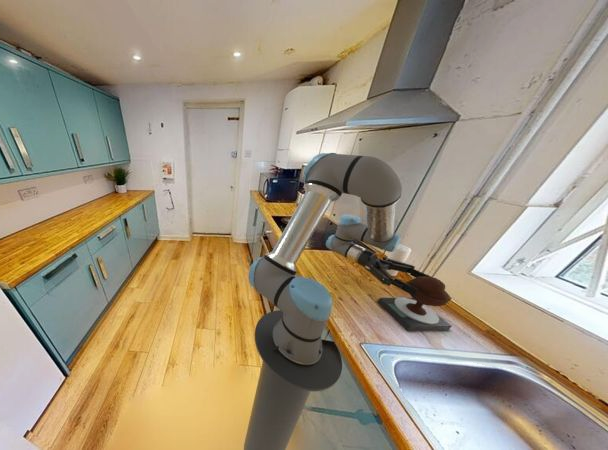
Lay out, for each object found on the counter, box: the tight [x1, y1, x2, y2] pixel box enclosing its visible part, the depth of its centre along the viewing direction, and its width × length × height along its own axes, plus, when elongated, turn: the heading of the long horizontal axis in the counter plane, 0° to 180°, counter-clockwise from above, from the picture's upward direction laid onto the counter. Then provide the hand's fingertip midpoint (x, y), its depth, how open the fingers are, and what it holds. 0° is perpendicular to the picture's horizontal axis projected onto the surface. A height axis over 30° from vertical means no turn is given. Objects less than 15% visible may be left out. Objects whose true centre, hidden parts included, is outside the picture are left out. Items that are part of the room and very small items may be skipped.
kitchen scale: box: [377, 297, 452, 332], centre depth 74 cm, size 15×13×3 cm
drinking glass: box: [386, 243, 412, 277], centre depth 95 cm, size 7×7×15 cm
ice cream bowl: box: [406, 276, 452, 316], centre depth 70 cm, size 11×11×15 cm
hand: (425, 287), depth 70 cm, fingers open, 13 cm apart
